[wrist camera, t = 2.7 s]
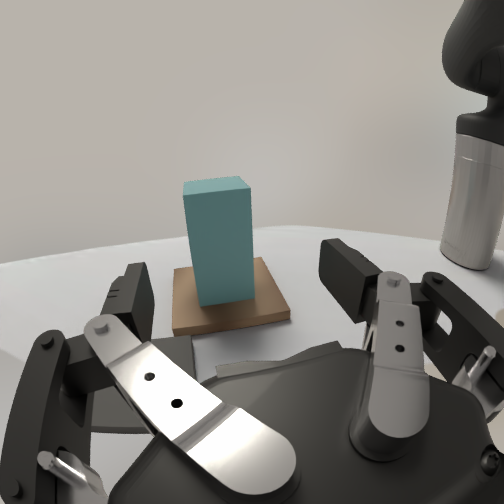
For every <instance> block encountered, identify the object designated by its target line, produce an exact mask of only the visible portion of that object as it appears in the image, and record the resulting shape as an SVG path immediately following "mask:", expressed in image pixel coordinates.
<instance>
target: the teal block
mask: <svg viewBox="0 0 504 504" xmlns="http://www.w3.org/2000/svg"><path fill="white" fill-rule="evenodd" d="M183 200H184V208H185V215H186V223H187V231H188V238H189V245H190V251H191V258H192V264H193V270H194V276H195V282H196V288H197V294H198V299H199V305H200V307H201V306H208V305H215V304H222V303H229V302H235V301H241V300H248V299H254V298H255V285H254V260H253V235H252V210H251V188H250V187H249V186H248V185H247V184H246V183H245V182H244V181H243V180H242V179H241V178H240V177H239V176H234V177H224V178H215V179H206V180H197V181H189V182H184V189H183Z"/></svg>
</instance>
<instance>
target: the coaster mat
mask: <svg viewBox="0 0 504 504" xmlns="http://www.w3.org/2000/svg"><path fill="white" fill-rule="evenodd" d="M151 343H152V344H153V345H154V346H155V347H156V348H157V349H158V350H159V351H160V352H162V353H163V354H164V355H165V356H166V357H167V358H168V359H169V360H171V361H172V362H173V363H174V364H175V365H176V366H177V367H179V368H180V369H181V370H182V371H183V372H185V373H186V374H187V375H188V376H189V377H191V378H192V379H193V380H194V381H196V373H195V363H194V353H193V343H192V339H191V335H186V336H178V337H169V338H160V339H151ZM91 432H97V433H98V432H99V433H118V434H151V433H150V432H149V431H148V430H147V429H146V427H145V426H144V425H143V424H142V422H141V421H140V420H139V419H138V417H137V416H136V415H135V414H134V413H133V411H132V410H131V409H130V408H129V406H128V405H127V404H126V403H125V401H124V400H123V399H122V398H121V396H120V395H119V394H118V392H117V391H116V390H115V388H114V387H113V386H111V387H108V388H105V389H101V390H98V391H95V394H94V402H93V413H92V425H91Z"/></svg>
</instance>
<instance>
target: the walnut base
mask: <svg viewBox="0 0 504 504" xmlns="http://www.w3.org/2000/svg"><path fill="white" fill-rule="evenodd" d="M253 260H254V285H255V298H254V299H248V300H241V301H235V302H229V303H222V304H215V305H208V306H201V307H200V305H199V299H198V294H197V288H196V282H195V276H194V270H193V267H185V268H178V269H174V281H173V307H172V330H173V334H174V337H178V336H186V335H199V334H206V333H213V332H219V331H226V330H232V329H238V328H244V327H250V326H256V325H261V324H266V323H272V322H277V321H282V320H287V319H290V308H289V306H288V305H287V303H286V301H285V299H284V297H283V296H282V294H281V292H280V290H279V288H278V286H277V285H276V283H275V281H274V279H273V277H272V276H271V274H270V272H269V270H268V268H267V266H266V265H265V263H264V261H263V259H262V257H258V258H253Z"/></svg>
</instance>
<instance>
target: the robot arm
mask: <svg viewBox="0 0 504 504" xmlns="http://www.w3.org/2000/svg"><path fill="white" fill-rule="evenodd" d="M442 63H443V68H444V70H445V73H446V75H447V76H448V78H449V79H450V80H451V81H452V82H453V83H454V84H456V85H457V86H459V87H461V88H464V89H466V90H470V91H473V92H476V93H479V94H482V95H485V96H488V101H487V107H486V109H485V110H483V111H481V112H477V113H468V114H462V115H459V116H458V118H457V123H456V133H457V134H456V145H455V160H454V170H453V179H452V186H451V193H450V200H449V206H448V211H447V217H446V222H445V226H444V231H443V235H442V240H441V244H440V250H441V251H442V253H443V254H444V255H445V256H446V257H448V258H449V259H450V260H452V261H454V262H455V263H457V264H459V265H462V266H464V267H467V268H471V269H476V270H483V269H487V268H488V267H489V265H490V262H491V259H492V256H493V253H494V249H495V246H496V243H497V239H498V236H499V231H500V228H501V224H502V219H503V215H504V0H464V2H463V4H462V6H461V8H460V10H459V12H458V14H457V15H456V17H455V19H454V21H453V22H452V24H451V26H450V28H449V30H448V32H447V34H446V37H445V40H444V43H443V49H442ZM319 277H320V280H321V282H322V283H323V285H324V286H325V287H326V288H327V290H328V291H329V292H330V293H331V294H332V296H333V297H334V298H335V299H336V301H337V302H338V303H339V304H340V306H341V307H342V308H343V309H344V311H345V312H346V313H347V314H348V316H349V317H350V318H351V319H352V321H353V322H354V323H355V324H356V323H360V322H363V321H366V322H367V323H366V327H365V331H364V338H363V344H362V349H361V350H360V349H353V348H342V347H341V345H340V344H339V342H338V341H334V342H330V343H326V344H323V345H319V346H315V347H311V348H309V349H307V350H304V351H302V352H300V353H298V354H296V355H294V356H292V357H290V358H288V359H285V360H282V361H245V362H239V363H233V364H226V365H220V366H216V370H217V376H214V377H212V378H209V379H207V380H205V381H204V382H202V383H200V384H198V383H197V382H196V381H194V380H193V379H192V378H191V377H189V376H188V375H187V374H186V373H185V372H183V371H182V370H181V369H180V368H179V367H177V366H176V365H175V364H174V363H173V362H172V361H171V360H169V359H168V358H167V357H166V356H165V355H164V354H163V353H162V352H160V351H159V350H158V349H157V348H156V347H155V346H154V345H153V344H152V343H151V334H152V324H153V315H154V306H155V303H154V295H153V290H152V287H151V283H150V278H149V274H148V270H147V266H146V264H145V262H142V263H134V264H128V266H127V269H126V272H125V274H124V276H119V277H118V278H117V279H116V280H115V281H114V282H113V283H112V284H111V287H110V289H109V292H108V295H107V298H106V300H105V303H104V305H103V308H102V311H101V314H100V315H99V316H97V317H95V318H93V319H91V320H90V321H89V322H88V323H87V324H86V326H85V328H84V334H82V335H79V336H76V337H72V338H69V339H65V337H64V335H63V333H62V332H61V331H59V330H49V331H46V332H44V333H42V334H41V335H40V336H39V337H38V338H37V339H36V340H35V342H34V344H33V346H32V349H31V351H30V354H29V356H28V359H27V361H26V364H25V367H24V370H23V373H22V375H21V379H20V381H19V384H18V387H17V390H16V394H15V397H14V400H13V404H12V408H11V412H10V415H9V420H8V423H7V428H6V433H5V438H4V443H3V448H2V455H1V461H0V495H1V498H2V499H3V501H4V503H5V504H504V454H503V453H501V452H499V450H497V448H496V447H495V445H494V443H493V441H492V438H491V436H490V433H489V430H488V426H487V423H489V422H491V421H492V420H493V419H494V418H495V417H496V416H497V414H498V413H499V412H500V411H501V410H502V409H503V408H504V328H503V327H502V326H501V325H500V324H499V323H498V322H497V321H495V320H494V319H493V318H492V317H491V316H490V315H489V314H488V313H487V312H486V311H485V310H484V309H483V308H482V307H480V306H479V305H478V304H477V303H476V302H475V301H474V300H473V299H472V298H470V297H469V296H468V295H467V294H466V293H465V292H463V291H462V290H461V289H460V288H459V287H458V286H456V285H455V284H454V283H453V282H452V281H450V280H449V279H448V278H447V277H445V276H444V275H442V274H440V273H436V272H426V273H425V274H424V275H423V278H422V281H421V283H409V280H408V279H407V278H406V277H405V276H403V275H402V274H399V273H396V272H391V271H387V272H383V271H381V270H380V269H379V268H378V267H377V266H376V265H374V264H373V263H372V262H371V261H369V260H368V259H367V258H366V257H364V255H362V254H361V253H360V252H359V251H357V250H355V249H353V248H350V247H348V246H347V245H346V244H345V243H344V242H342V241H341V240H340V239H338V238H336V239H327V240H323V241H322V243H321V249H320V260H319ZM441 310H442V311H443V312H444V313H445V314H446V315H447V316H448V317H449V318H450V320H451V322H452V330H451V332H450V335H448V334H447V333H446V332H445V331H444V330H443V329H442V328H441V327H440V326H439V324H438V323H437V319H438V317H439V315H440V312H441ZM423 351H424V352H425V353H426V355H427V356H428V357H429V358H430V360H431V361H432V362H433V364H434V365H435V366H436V367H437V369H438V370H439V371H440V373H441V374H442V375H443V377H444V378H445V379H446V381H447V382H445V381H443V380H440V379H437V378H435V377H432V376H430V375H428V374H427V373H425V371H424V356H423ZM111 386H113V387H114V388H115V390H116V391H117V392H118V394H119V395H120V396H121V398H122V399H123V400H124V401H125V403H126V404H127V405H128V406H129V408H130V409H131V410H132V411H133V413H134V414H135V415H136V416H137V417H138V419H139V420H140V421H141V422H142V424H143V425H144V426H145V427H146V429H147V430H148V431H149V432H150V433H151V434H152V435H153V437H154V438H153V439H152V441H151V442H150V443H149V444H148V446H147V447H146V448H145V449H144V450H143V452H142V453H141V454H140V456H139V457H138V458H137V459H136V460H135V462H134V463H133V464H132V465H131V467H130V468H129V469H128V470H127V471H126V472H125V474H124V475H123V476H122V477H121V478H120V480H119V481H118V482H117V483H116V484H115V486H114V487H113V489H112V491H111V492H110V495H109V497H108V496H107V494H106V493H105V491H104V488H103V484H102V480H101V478H100V476H99V474H98V473H97V472H96V471H95V470H93V469H92V468H91V467H90V441H91V425H92V413H93V402H94V394H95V391H98V390H101V389H105V388H108V387H111Z"/></svg>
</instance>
